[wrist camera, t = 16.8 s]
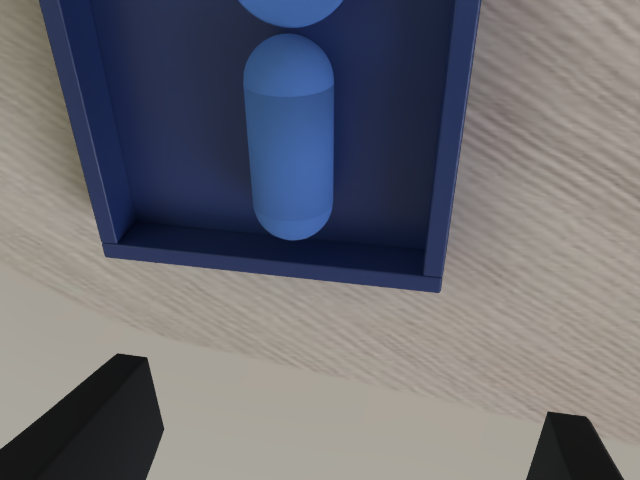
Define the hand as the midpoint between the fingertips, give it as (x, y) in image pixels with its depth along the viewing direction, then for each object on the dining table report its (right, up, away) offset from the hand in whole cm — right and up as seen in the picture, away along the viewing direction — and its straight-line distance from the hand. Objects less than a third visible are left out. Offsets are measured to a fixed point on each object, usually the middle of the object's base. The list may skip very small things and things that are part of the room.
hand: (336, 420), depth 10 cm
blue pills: (-1, +8, +6) cm, 10 cm away
